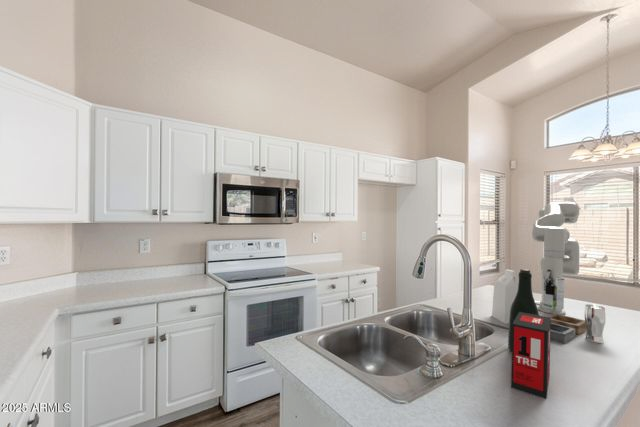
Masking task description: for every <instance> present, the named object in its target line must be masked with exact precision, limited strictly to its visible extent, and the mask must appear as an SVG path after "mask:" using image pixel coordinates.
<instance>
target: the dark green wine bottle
mask: <svg viewBox="0 0 640 427" xmlns="http://www.w3.org/2000/svg"><path fill="white" fill-rule="evenodd" d="M532 278H533V276H532V273H531V270H530V269H525V268H521V269H519V272H518V279H519V283H518V291H517V294H516V297H515V299H514V301H513V303H512V305H511V308H510V315H509V324H508V336H507V338H508V339H507V344H508V345H507V346H508V347H507V348H508V351H509V352H510V353H512V324H513V322H514V320H515V318H516V317H517V315H518V313H519V312H524V313H529V314H535V315H540V310H539V309H538V305H536V303H535V301H536V300H535V299H534V294H533V289H532V288H533V286H532Z"/></svg>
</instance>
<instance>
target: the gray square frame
mask: <svg viewBox="0 0 640 427" xmlns="http://www.w3.org/2000/svg"><path fill="white" fill-rule="evenodd" d="M573 339H576V335H575V329H574V328H570V327H567V326H563V325H559V324H555V323H551V326H550V341H552V342H553V341H554V342H556V343H560V344H564V345H565V344H567V343H569V342H571V341H572V340H573Z"/></svg>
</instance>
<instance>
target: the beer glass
mask: <svg viewBox="0 0 640 427" xmlns="http://www.w3.org/2000/svg"><path fill="white" fill-rule="evenodd" d="M606 315H607V313H606V308H605V307H604V306H601V305H597V304H589V303H587V304H585V307H584V320H585V323H586V328H587V331H586V334H585V340H587V341H588V342H591V343H595V344H604V342H605V341H604V340H605V339H604V336H603V335H604V329H605V325H606V320H607V318H606V317H607V316H606Z"/></svg>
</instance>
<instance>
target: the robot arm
mask: <svg viewBox="0 0 640 427" xmlns="http://www.w3.org/2000/svg"><path fill="white" fill-rule="evenodd" d="M579 216H580V207H579V205H578V204H577V203H576V202H573V201H553V202H548V203H547V204H546V205H545V206H544V208H541V209H539V210H538V219H536V220H535V221H534V222H533V224H532V232H531V233H532V234H531V235H532V239H533V241H535V242H537V243H543V257H542V258H541V259H540V262H539V263H540V271H541V301H539V300H535V303H536V305H537V308H538V311H539V312H542V313H547V314H550V315H553V314H560V315H565V314H566V310H564V309H560V310H553V309H550V308H546V307H543V278H544V279H545V280H546V281H545V282H546V284H545V285H546V294H549V295H554V289H555V286H554V280H556V279H557V278H558V277H563V276H564V275H565V276H566V275H567V276H576V275H577V276H578V274H580V273H579V272H580V245H579V244H580V243H579V241H577V240H576V239H574V238H571V237H570V236H571V234H570V230H568V229H567V228H566V227H562V225H564V224H576V223H577V222H578V221H579V220H578V219H579ZM565 256H567V257H565ZM550 278H553V279H550ZM563 278H564V277H563ZM551 281H552V282H551Z"/></svg>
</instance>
